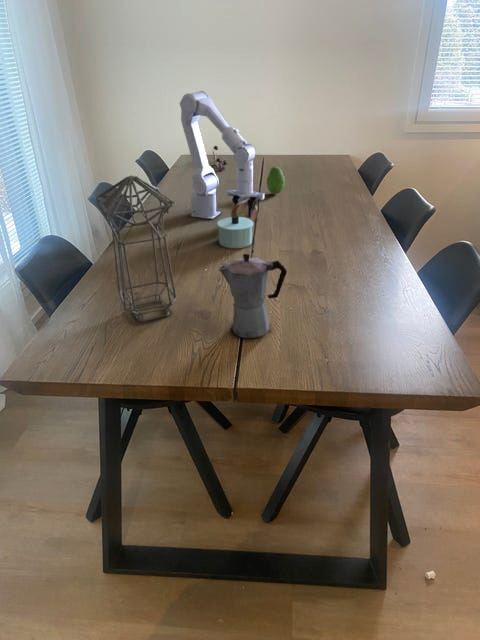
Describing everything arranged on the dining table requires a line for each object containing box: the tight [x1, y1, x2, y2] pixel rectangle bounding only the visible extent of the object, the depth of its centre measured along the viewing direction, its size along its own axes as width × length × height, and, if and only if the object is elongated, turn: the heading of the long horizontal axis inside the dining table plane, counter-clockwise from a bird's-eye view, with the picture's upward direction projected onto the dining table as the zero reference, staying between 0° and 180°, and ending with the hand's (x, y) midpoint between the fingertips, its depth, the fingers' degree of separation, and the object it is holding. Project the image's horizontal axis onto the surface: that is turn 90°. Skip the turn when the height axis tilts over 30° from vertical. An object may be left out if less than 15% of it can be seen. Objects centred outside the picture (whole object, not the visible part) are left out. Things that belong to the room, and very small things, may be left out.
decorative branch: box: [210, 145, 228, 173], centre depth 245 cm, size 11×9×30 cm
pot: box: [218, 226, 253, 249], centre depth 156 cm, size 11×11×6 cm
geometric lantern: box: [95, 175, 177, 323], centre depth 110 cm, size 16×16×35 cm
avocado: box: [266, 165, 286, 195], centre depth 200 cm, size 8×8×12 cm
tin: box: [230, 198, 260, 222], centre depth 171 cm, size 15×3×8 cm, turn 143°
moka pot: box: [218, 253, 287, 339], centre depth 106 cm, size 10×15×20 cm, turn 95°
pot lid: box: [217, 215, 254, 231], centre depth 154 cm, size 12×12×3 cm
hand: (245, 216), depth 173 cm, fingers closed on tin, 4 cm apart
